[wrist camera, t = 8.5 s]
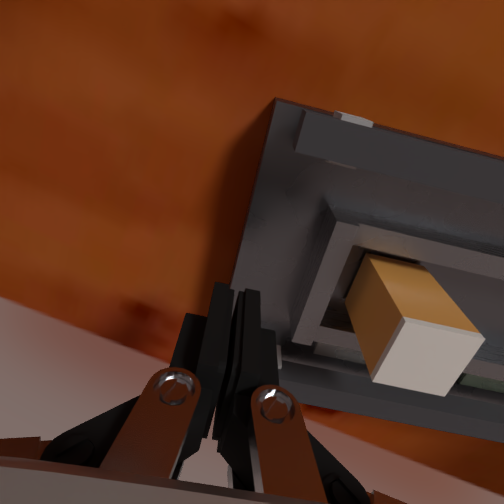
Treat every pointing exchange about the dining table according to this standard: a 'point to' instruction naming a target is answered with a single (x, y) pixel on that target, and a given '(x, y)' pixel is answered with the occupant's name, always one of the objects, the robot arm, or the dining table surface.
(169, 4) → the dining table surface
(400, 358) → the block
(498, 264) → the panel
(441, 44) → the dining table surface
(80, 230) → the dining table surface
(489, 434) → the pair of grey rails
